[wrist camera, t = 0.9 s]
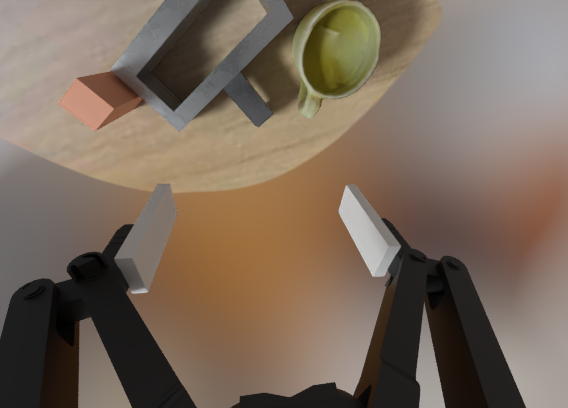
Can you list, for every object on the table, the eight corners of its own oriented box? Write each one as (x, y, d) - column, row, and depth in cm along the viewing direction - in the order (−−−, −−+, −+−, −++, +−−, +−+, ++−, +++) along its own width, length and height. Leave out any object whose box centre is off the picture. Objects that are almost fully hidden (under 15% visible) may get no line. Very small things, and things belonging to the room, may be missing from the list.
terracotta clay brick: (108, 87, 30) (57, 103, 22) (124, 68, 29) (76, 78, 21) (133, 109, 32) (95, 131, 24) (149, 91, 31) (114, 108, 23)
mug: (318, -45, 24) (358, -20, 19) (366, 24, 31) (405, 57, 25) (254, 59, 31) (270, 99, 25) (305, 97, 37) (326, 136, 32)
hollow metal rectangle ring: (129, 66, 29) (110, 69, 25) (235, -65, 24) (233, -88, 20) (220, 152, 37) (217, 165, 33) (315, 68, 32) (324, 71, 28)
